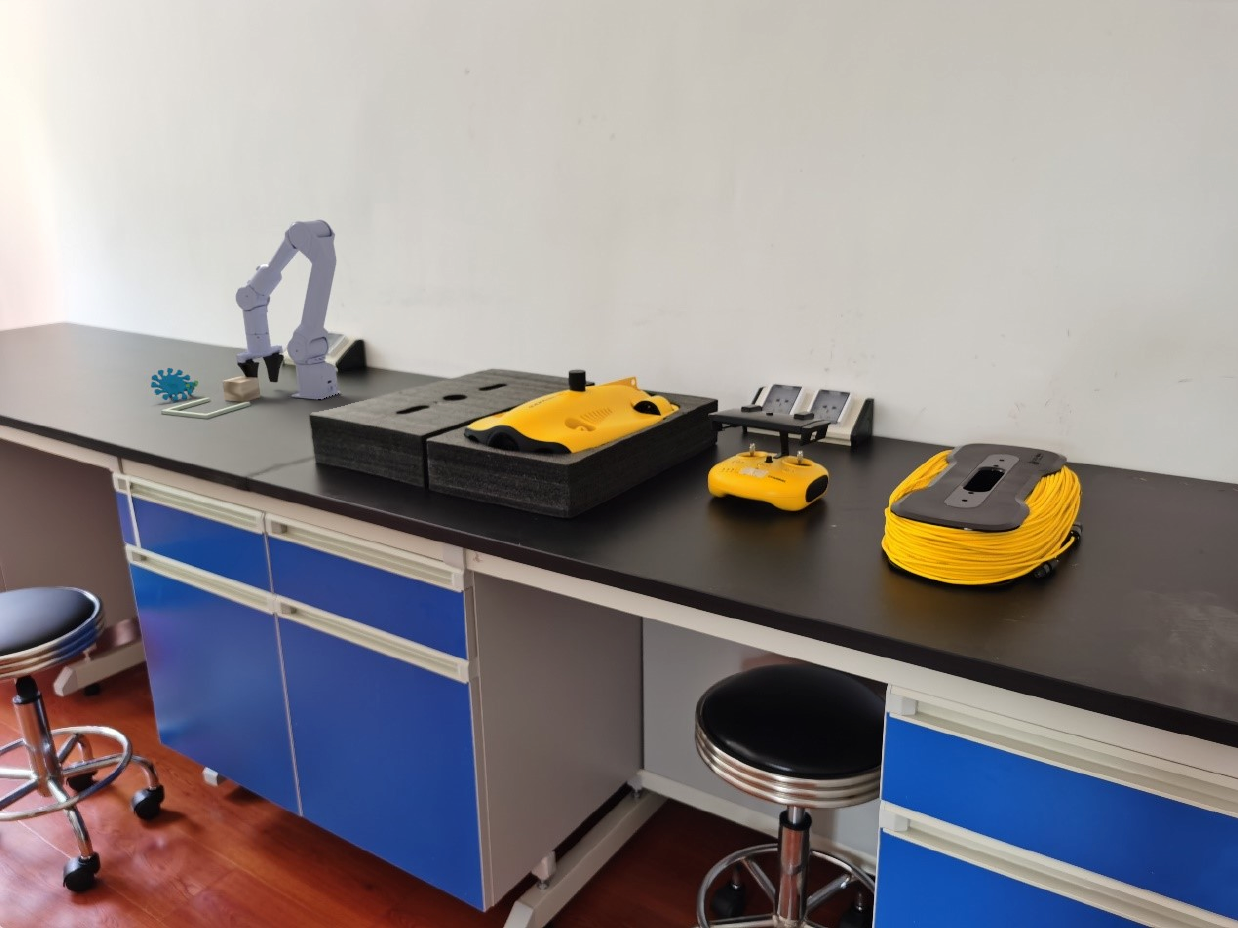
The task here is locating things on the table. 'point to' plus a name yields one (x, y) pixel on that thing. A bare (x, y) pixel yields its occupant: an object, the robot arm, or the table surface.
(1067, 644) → the table surface
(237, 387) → the block
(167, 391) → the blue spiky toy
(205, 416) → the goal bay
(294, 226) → the robot arm
